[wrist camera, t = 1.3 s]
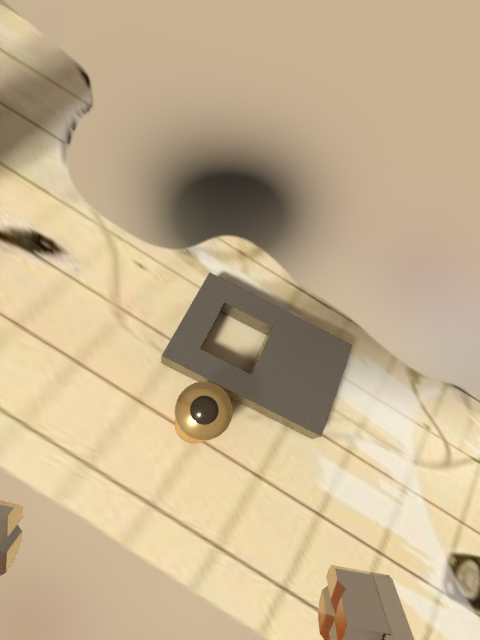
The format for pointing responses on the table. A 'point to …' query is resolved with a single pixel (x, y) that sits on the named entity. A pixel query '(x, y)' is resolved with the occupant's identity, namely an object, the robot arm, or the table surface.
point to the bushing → (202, 412)
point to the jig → (263, 358)
